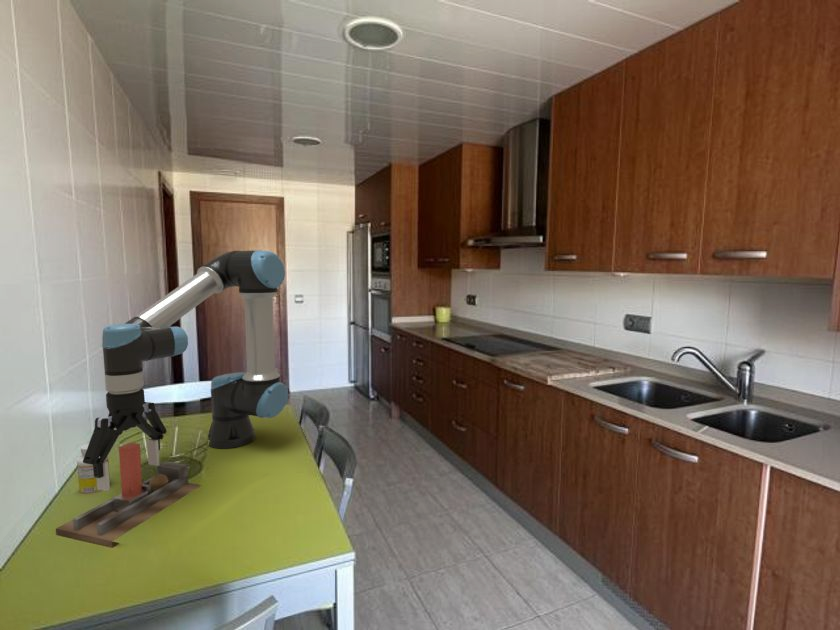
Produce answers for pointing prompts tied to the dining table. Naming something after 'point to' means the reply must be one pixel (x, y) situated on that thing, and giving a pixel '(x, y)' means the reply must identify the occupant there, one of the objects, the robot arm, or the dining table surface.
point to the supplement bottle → (87, 474)
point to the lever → (130, 477)
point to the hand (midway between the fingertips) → (130, 476)
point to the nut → (158, 482)
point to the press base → (128, 510)
